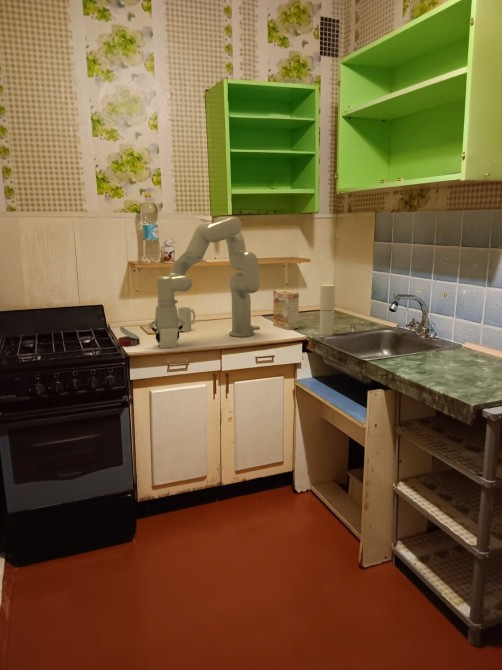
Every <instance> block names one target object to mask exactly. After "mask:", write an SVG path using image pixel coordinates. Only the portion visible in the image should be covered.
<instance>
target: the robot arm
mask: <svg viewBox="0 0 502 670" xmlns="http://www.w3.org/2000/svg"><path fill="white" fill-rule="evenodd" d="M242 227H243V225H242V222H241V220H240V219H239V218H238V217H237V216H218V217H216V218H215V219H214V220H213V223H201V224H198V226H197V227H196V229H195V231H194V232H193V235H192V237H191V239H190V241H189V242H188V243H189V244H188V245H187V247H186V249H185V251H184V253H182V254H181V255H180V257H178V258H177V260H175V262H174V264H173V266H172V267H171V270H170V272H169V273H168V275H160V276H158V277H157V279H156V285H157V286H156V287H157V290H156V291H157V305H156V306H155V312H154V313H155V319H154V320H153V321H151V322H150V323H149V324H148V327H149V328H150V329H151V330H152V331H153V332H154V334H155V340H156V342H157V341H158V342H160V334H159V328H171V327H176V328H177V329H178V336H177V341H179V339H180V332H181V331H180V330H181V329H182V328H183V326H184V324H185V322H184V321H182V320H180V319H179V318H178V308H177V305H176V304H178V303H179V302H178V301H179V300H177V299H175V292H182V293H184V292H188V291H189V290H190V289H191V288H192V286H193V280H192V279H191V277H189V276H188V275H186V274H187V272H188V271H189V269H190V268H191V267H193V266H195V265H196V264H198V263H199V262H201V261H202V260H203V259H204V256H205V254H206V252H207V251H208V248H209V247H210V244H212V243H213V244H214V243H218V242H221V241H224V240H225V242H226V246H227V251H228V259H229V265H230V267H231V268H232V269H234V270H237V271H238V272H235V273H233V274H232V275H231V276H230V278H229V288H230V294H231V330H230V331H229V333H228V335H229V336H231V337H235V338H247V337H252V336H253V335H255V333H254V331H259V330H260V329H261V327H260V326H259V325H258V326H257V325H252V323H251V322H252V321H251V320H252V316H251V315H252V309H251V308H252V307H251V306H252V305H251V302H252V301H251V300H252V299H251V295H250V294H255V293H257V292H258V291H259V289H260V286H261V275H260V265H259V259H258V257H257V256H256V254H255V253H254V252H252V251H248V250H247V249H246V244H245V238H244V235H243V234H242V232H241V231H242ZM179 322H180V323H181V325H180V326H179ZM154 325H155V327H156V328H155V327H154ZM158 342H157V343H158Z"/></svg>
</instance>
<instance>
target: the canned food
mask: <svg viewBox="0 0 502 670" xmlns="http://www.w3.org/2000/svg"><path fill="white" fill-rule="evenodd" d="M119 330H120V332H121V333H122V334H123V335H125V336H122V337H121V336H120V337H118V339H117V340H118V341H117V342H118V343H119V344H120V345H121V346H120V347H127V348H128V347H130V348H131V347H136V346H139V345H140V344H141V343H140V342H141V340H140V337H139V336H138V335H137V334H135V333H133V332H131V331H130V330H128V329H126V328H125V327H124V326H120V327H119Z"/></svg>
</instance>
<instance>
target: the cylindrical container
mask: <svg viewBox="0 0 502 670" xmlns="http://www.w3.org/2000/svg"><path fill="white" fill-rule="evenodd" d="M319 288H320V291H319V292H320V293H319V294H320V295H319V297H320V298H319V301H320V302H319V331H318V332H319V335H320V334H321V335H320V336H325V335H330V336H333V335H334V330H335V328H334V327H335V298H336V295H335V294H336V293H335V292H336V285H335V284H329V283H327V284H326V283H325V284H320V287H319ZM332 334H333V335H332Z"/></svg>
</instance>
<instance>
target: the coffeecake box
mask: <svg viewBox="0 0 502 670" xmlns="http://www.w3.org/2000/svg"><path fill="white" fill-rule="evenodd" d="M272 294H273V299H272V300H273V301H272V303H273V307H272V308H273V311H272V312H273V320H272V321H273V326H275V327H278V328H281V329H283V330H287V329H288V330H287V331H290V330H289V329H292V330H296V329H295V328H298V329H299V315H300V314H299V311H300V310H299V303H300V300H299V298H300V293H299V292H295V291H292V290H287V289H274V290H273V293H272Z"/></svg>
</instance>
